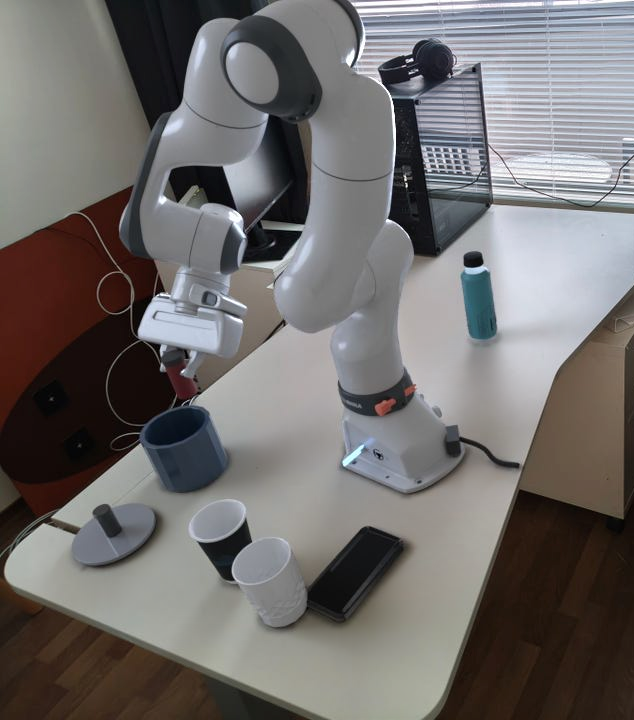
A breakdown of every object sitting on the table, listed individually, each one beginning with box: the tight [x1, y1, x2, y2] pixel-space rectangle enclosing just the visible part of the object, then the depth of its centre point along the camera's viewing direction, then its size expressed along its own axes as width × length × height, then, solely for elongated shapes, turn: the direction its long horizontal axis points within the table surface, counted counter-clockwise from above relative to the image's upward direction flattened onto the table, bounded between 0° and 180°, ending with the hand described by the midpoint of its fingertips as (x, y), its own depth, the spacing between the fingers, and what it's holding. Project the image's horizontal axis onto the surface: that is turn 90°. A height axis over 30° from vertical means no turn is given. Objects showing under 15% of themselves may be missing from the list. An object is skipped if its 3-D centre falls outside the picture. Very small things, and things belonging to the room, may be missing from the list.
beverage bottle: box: [459, 250, 498, 341], centre depth 145 cm, size 6×7×20 cm
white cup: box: [232, 536, 308, 628], centre depth 94 cm, size 8×8×10 cm
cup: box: [139, 404, 228, 493], centre depth 121 cm, size 12×12×10 cm
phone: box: [306, 525, 405, 623], centre depth 100 cm, size 8×1×15 cm
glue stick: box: [160, 349, 198, 400], centre depth 119 cm, size 4×4×8 cm
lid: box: [71, 502, 157, 566], centre depth 110 cm, size 13×13×6 cm
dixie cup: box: [188, 499, 253, 585], centre depth 100 cm, size 8×8×11 cm
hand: (176, 375), depth 118 cm, fingers closed on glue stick, 3 cm apart
